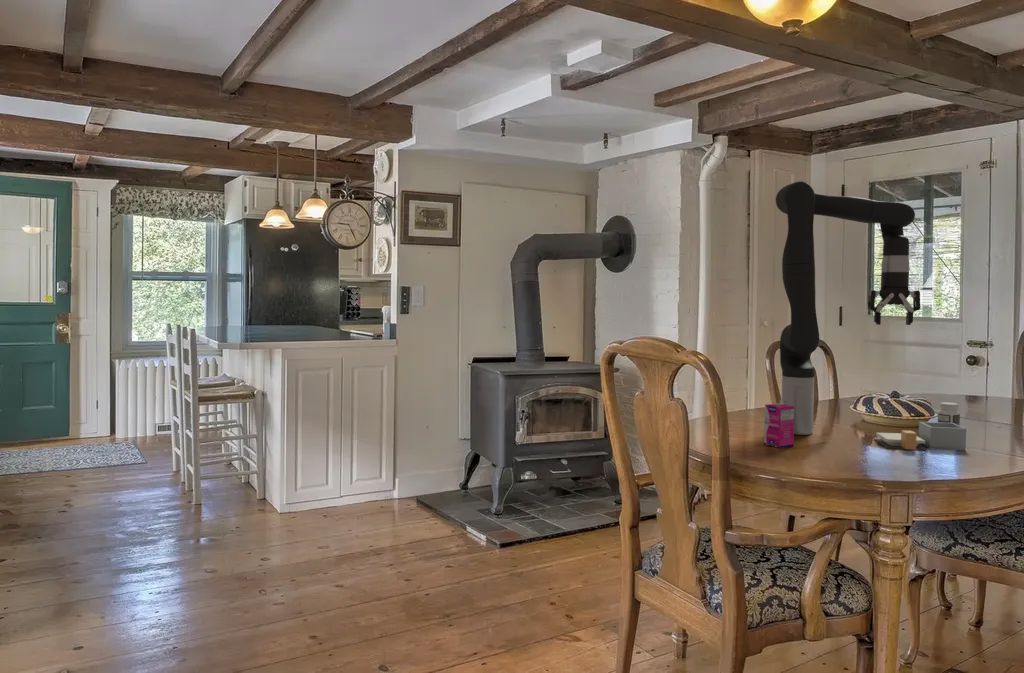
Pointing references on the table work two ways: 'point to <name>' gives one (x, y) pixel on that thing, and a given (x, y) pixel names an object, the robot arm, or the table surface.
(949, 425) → the tub
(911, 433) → the lid
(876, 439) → the mat
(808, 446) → the table surface
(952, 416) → the pill bottle
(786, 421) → the supplement box
